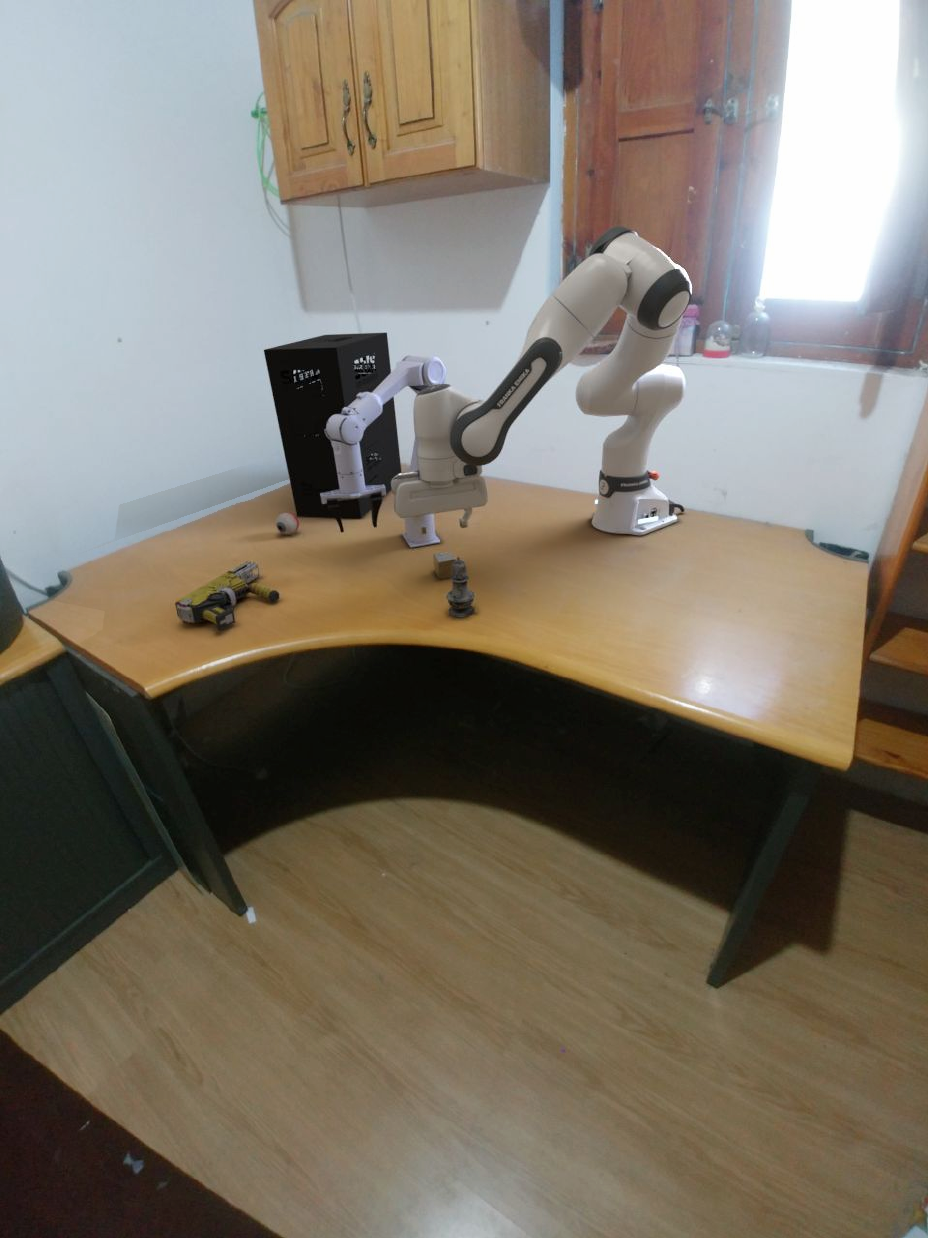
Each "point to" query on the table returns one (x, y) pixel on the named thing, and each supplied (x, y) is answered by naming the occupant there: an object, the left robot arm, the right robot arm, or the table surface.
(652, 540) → the table surface
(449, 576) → the block
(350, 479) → the left robot arm
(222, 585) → the toy gun
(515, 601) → the table surface
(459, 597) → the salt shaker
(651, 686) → the table surface
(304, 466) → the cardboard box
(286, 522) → the eyeball
